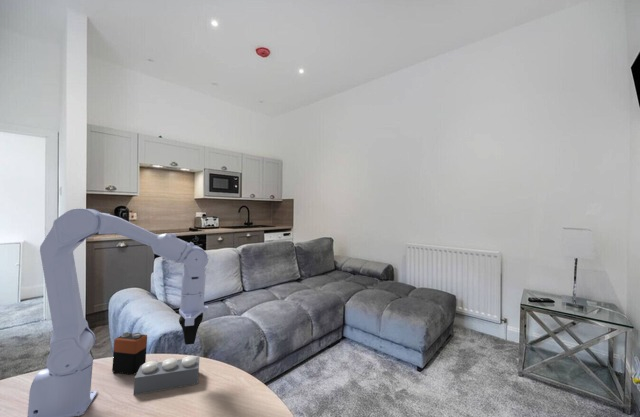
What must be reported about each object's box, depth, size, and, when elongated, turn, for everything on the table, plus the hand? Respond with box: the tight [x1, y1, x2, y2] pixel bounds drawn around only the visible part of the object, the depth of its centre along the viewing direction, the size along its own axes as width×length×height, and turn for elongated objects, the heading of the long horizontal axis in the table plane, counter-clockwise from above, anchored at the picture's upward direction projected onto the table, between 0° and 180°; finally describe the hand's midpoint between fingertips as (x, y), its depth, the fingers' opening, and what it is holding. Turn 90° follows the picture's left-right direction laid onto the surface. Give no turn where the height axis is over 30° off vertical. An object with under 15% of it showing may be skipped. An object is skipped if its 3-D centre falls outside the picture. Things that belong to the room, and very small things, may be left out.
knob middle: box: [162, 357, 178, 370], centre depth 69 cm, size 3×3×5 cm
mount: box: [132, 356, 200, 396], centre depth 69 cm, size 14×6×4 cm, turn 112°
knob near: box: [142, 360, 159, 373], centre depth 68 cm, size 3×3×5 cm
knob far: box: [181, 355, 197, 367], centre depth 71 cm, size 3×3×5 cm
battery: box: [111, 331, 148, 376], centre depth 74 cm, size 4×7×10 cm, turn 83°
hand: (189, 343), depth 71 cm, fingers closed
